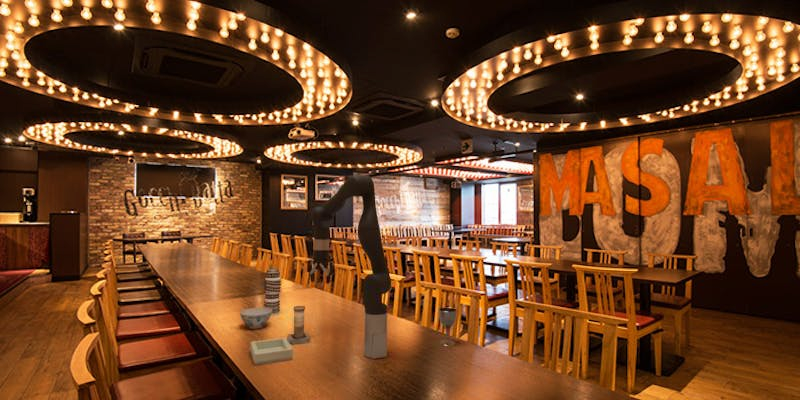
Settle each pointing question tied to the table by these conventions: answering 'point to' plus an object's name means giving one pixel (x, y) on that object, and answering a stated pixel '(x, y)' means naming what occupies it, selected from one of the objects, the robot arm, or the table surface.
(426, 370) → the table surface
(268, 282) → the decorative candle
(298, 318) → the stop peg
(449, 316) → the wine glass
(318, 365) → the table surface
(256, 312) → the chinaware
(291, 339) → the stop collar
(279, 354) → the tray
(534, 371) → the table surface
